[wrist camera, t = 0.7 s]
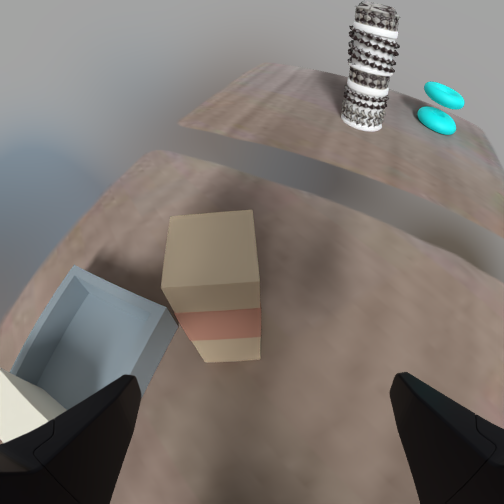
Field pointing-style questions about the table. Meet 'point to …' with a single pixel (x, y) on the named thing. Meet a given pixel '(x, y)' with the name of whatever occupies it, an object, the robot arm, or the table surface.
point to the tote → (93, 339)
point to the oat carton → (215, 283)
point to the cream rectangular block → (23, 406)
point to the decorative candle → (370, 65)
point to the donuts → (436, 117)
